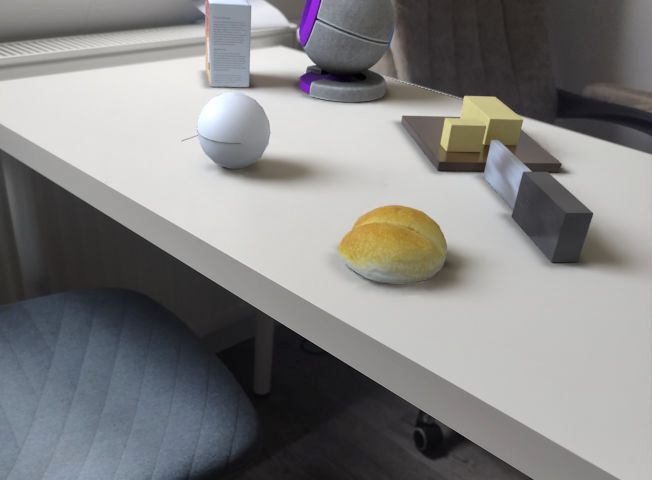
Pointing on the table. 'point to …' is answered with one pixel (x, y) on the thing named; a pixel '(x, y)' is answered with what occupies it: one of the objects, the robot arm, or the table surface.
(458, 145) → the butter pat
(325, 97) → the webcam
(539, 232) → the knife
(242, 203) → the table surface
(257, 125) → the seamed sphere
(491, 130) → the butter
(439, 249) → the bread roll
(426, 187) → the table surface
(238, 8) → the small box
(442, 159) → the board
